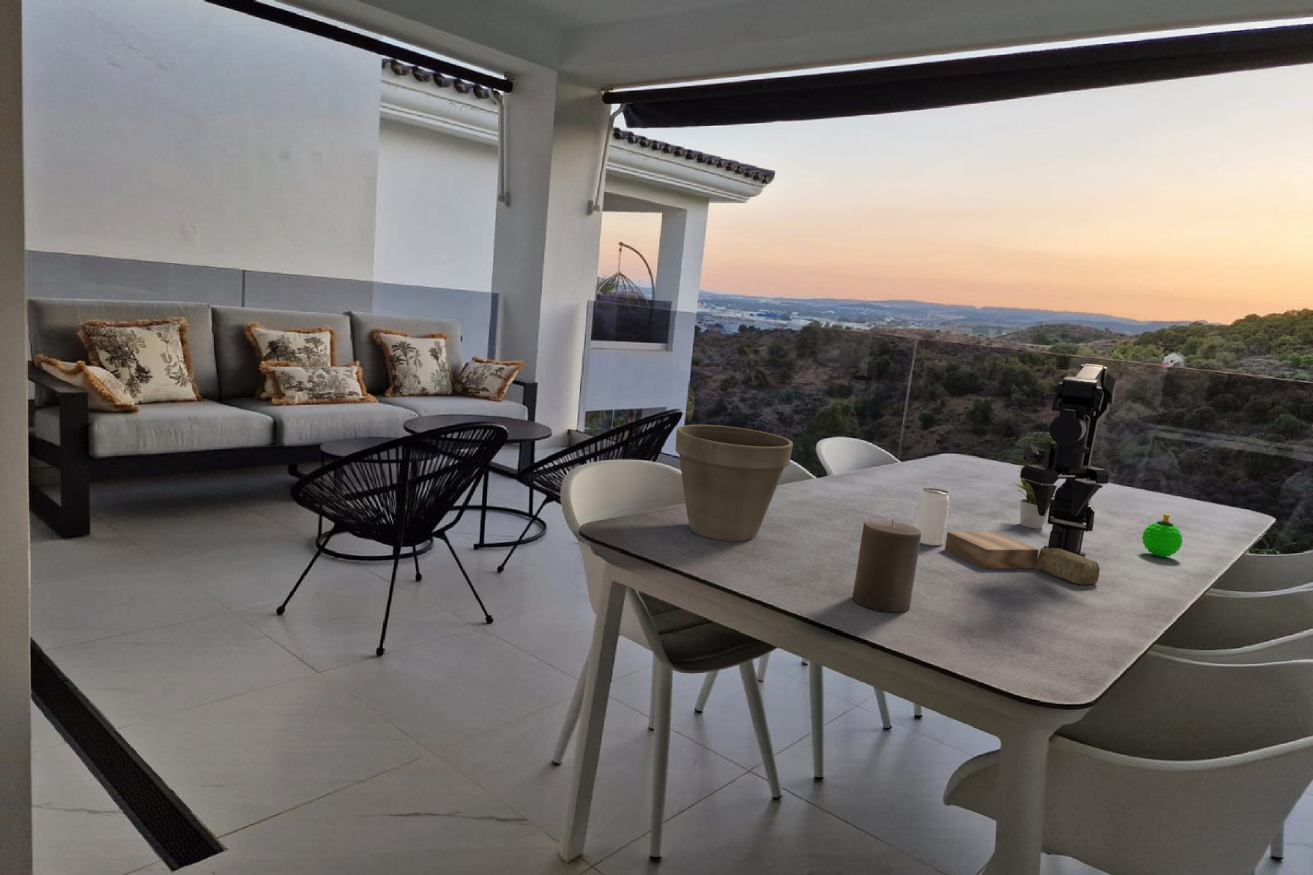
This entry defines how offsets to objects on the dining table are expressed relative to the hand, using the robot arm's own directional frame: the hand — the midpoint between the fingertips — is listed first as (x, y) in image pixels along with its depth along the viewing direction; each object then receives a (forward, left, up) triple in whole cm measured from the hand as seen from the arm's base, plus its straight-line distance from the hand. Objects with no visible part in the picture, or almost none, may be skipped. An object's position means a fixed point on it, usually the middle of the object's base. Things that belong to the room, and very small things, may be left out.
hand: (1057, 515), depth 171 cm
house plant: (-29, -36, -12) cm, 48 cm away
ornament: (-42, -11, -13) cm, 45 cm away
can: (+14, -22, -12) cm, 29 cm away
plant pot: (+61, -29, -13) cm, 69 cm away
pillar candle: (+49, +14, -13) cm, 53 cm away
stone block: (-2, +2, -13) cm, 13 cm away
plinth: (+7, -10, -12) cm, 17 cm away
